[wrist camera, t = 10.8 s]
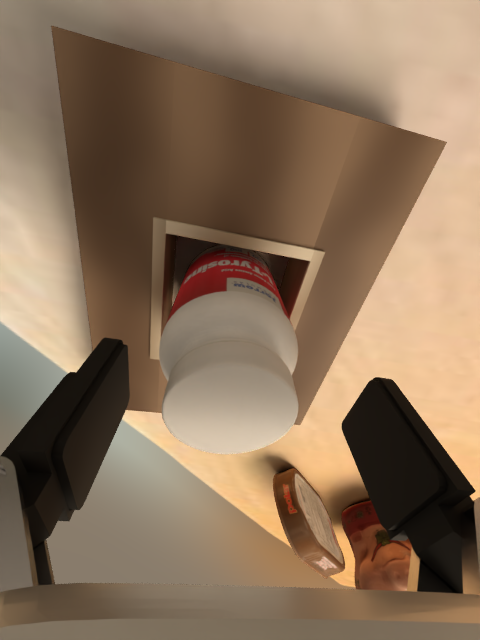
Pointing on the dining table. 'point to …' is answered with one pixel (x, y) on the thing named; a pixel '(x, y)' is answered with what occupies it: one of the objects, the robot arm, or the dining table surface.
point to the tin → (307, 524)
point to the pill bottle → (228, 356)
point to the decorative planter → (375, 551)
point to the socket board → (224, 197)
